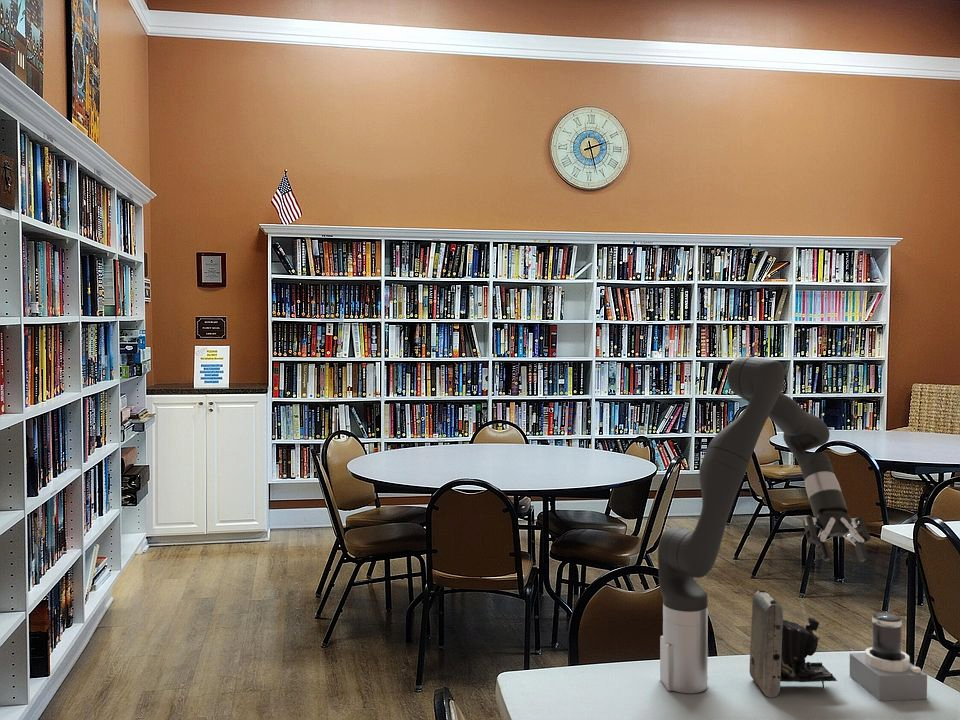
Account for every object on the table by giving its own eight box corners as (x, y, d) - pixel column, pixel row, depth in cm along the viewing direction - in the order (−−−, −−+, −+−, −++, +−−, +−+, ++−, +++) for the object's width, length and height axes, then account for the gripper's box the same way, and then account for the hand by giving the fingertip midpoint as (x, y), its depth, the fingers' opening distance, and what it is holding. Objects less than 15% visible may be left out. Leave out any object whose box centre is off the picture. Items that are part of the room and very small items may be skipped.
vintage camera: (838, 701, 167) (842, 604, 167) (762, 698, 168) (765, 601, 167) (819, 682, 177) (823, 590, 177) (747, 679, 177) (751, 587, 177)
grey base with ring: (879, 700, 166) (879, 666, 166) (849, 676, 178) (849, 644, 178) (926, 699, 167) (927, 665, 167) (894, 674, 179) (894, 643, 179)
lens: (880, 669, 170) (881, 621, 169) (866, 658, 175) (867, 612, 175) (907, 668, 170) (907, 620, 170) (892, 657, 176) (892, 611, 175)
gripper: (803, 487, 190) (823, 553, 181) (860, 488, 192) (883, 554, 182) (789, 501, 196) (808, 566, 187) (845, 502, 198) (866, 567, 188)
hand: (845, 560), depth 185 cm, fingers open, 8 cm apart
